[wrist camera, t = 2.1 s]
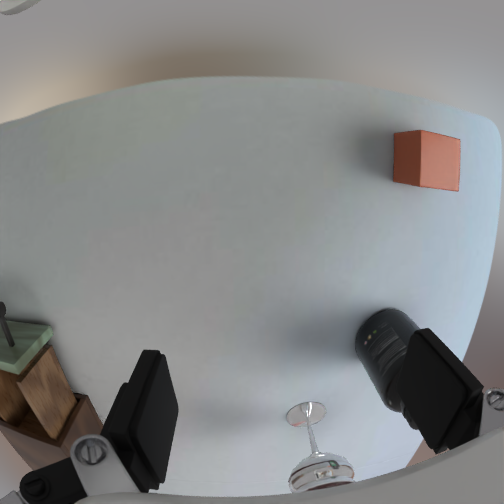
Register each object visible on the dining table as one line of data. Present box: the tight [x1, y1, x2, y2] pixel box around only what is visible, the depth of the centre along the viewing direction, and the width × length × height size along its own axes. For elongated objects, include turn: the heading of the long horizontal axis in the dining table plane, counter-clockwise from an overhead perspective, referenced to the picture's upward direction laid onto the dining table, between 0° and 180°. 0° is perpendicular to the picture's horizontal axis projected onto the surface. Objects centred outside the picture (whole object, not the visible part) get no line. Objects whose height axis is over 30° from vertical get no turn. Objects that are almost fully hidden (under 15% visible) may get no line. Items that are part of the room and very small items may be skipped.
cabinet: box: [0, 393, 103, 471], centre depth 28 cm, size 16×13×10 cm
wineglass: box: [286, 402, 356, 493], centre depth 26 cm, size 7×7×12 cm
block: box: [393, 130, 460, 192], centre depth 21 cm, size 4×4×4 cm
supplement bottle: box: [355, 310, 420, 430], centre depth 23 cm, size 7×7×12 cm
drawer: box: [0, 301, 78, 442], centre depth 23 cm, size 20×11×8 cm, turn 2°
